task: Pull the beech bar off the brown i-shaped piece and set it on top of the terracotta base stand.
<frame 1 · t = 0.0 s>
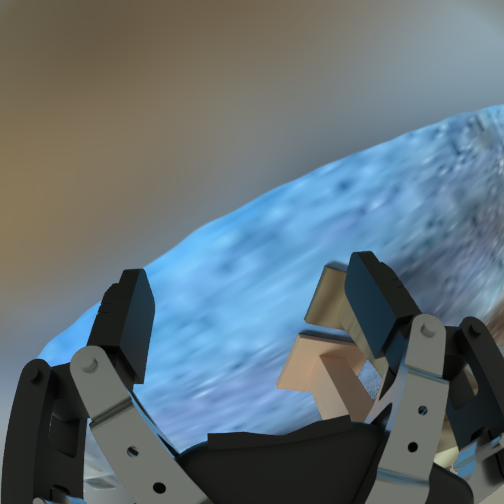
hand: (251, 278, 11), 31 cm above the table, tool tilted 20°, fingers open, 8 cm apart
terracotta base stand: (323, 365, 50), on the table
beech bar: (442, 433, 15), point 32 cm above the table, touching brown i-shaped piece
brown i-shaped piece: (353, 302, 47), on the table
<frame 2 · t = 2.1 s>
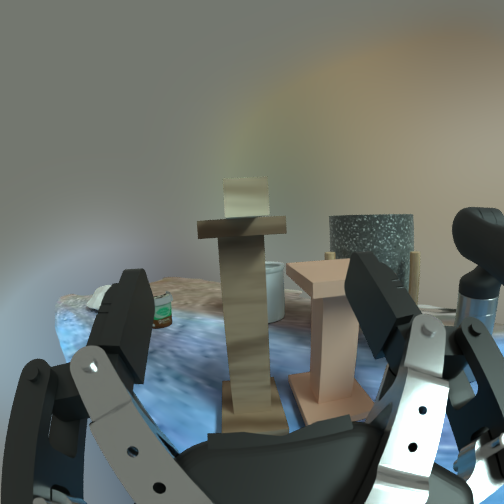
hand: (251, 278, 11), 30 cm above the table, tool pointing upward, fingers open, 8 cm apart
planter: (368, 334, 69), on the table
crumpled cloth: (116, 308, 105), on the table
terracotta base stand: (329, 397, 44), on the table
beech bar: (240, 218, 34), point 32 cm above the table, touching brown i-shaped piece
utensil holder: (263, 317, 91), on the table
food container: (164, 325, 86), on the table
brown i-shaped piece: (251, 409, 43), on the table
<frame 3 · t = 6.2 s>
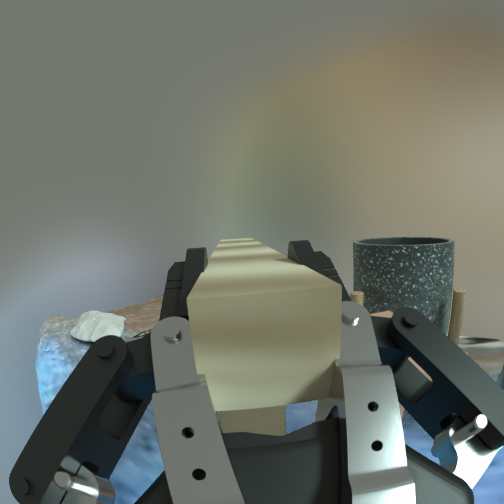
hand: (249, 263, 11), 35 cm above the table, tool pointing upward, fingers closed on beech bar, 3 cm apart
planter: (393, 378, 54), on the table
crumpled cloth: (103, 337, 89), on the table
beech bar: (243, 291, 19), point 32 cm above the table, touching gripper, brown i-shaped piece
food container: (154, 365, 70), on the table
brown i-shaped piece: (259, 495, 27), on the table
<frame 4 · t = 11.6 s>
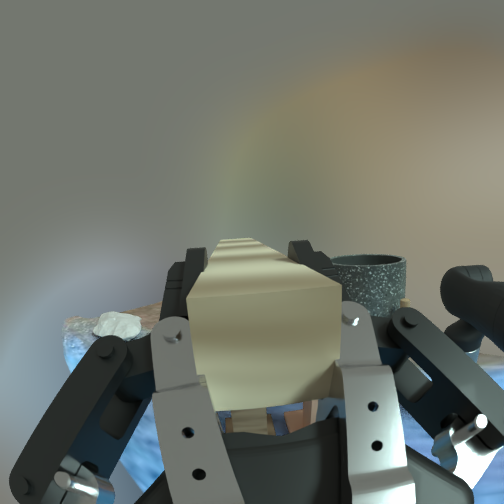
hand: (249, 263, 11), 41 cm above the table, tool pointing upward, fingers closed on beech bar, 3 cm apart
planter: (360, 367, 72), on the table
crumpled cloth: (122, 335, 108), on the table
terracotta base stand: (319, 433, 47), on the table
beech bar: (243, 290, 19), point 38 cm above the table, touching gripper
brown i-shaped piece: (251, 444, 45), on the table
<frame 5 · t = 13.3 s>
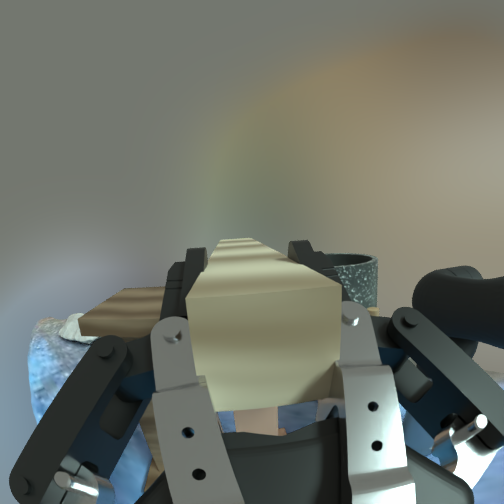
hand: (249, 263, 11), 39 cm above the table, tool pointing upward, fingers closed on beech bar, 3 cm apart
planter: (326, 383, 63), on the table
crumpled cloth: (87, 337, 98), on the table
terracotta base stand: (259, 464, 38), on the table
beech bar: (243, 291, 19), point 36 cm above the table, touching gripper
brown i-shaped piece: (180, 467, 36), on the table
when the fingers open (29 cm above the table, at t = 17.3 s): beech bar drops 2 cm, resting on terracotta base stand.
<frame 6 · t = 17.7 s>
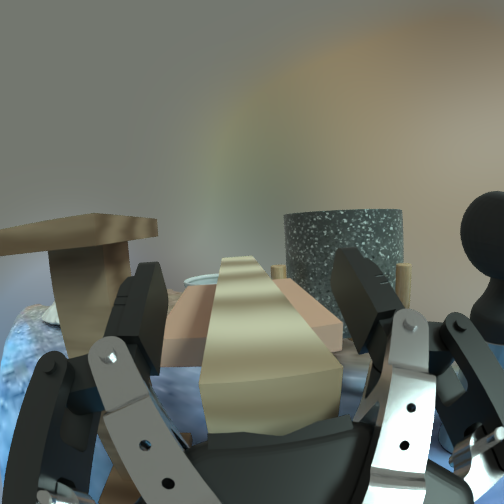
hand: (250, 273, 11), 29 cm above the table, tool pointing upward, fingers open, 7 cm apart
planter: (342, 370, 52), on the table
crumpled cloth: (71, 322, 87), on the table
terracotta base stand: (257, 474, 26), on the table
beech bar: (246, 319, 19), point 24 cm above the table, touching terracotta base stand
utensil holder: (218, 340, 74), on the table
brown i-shaped piece: (151, 473, 25), on the table
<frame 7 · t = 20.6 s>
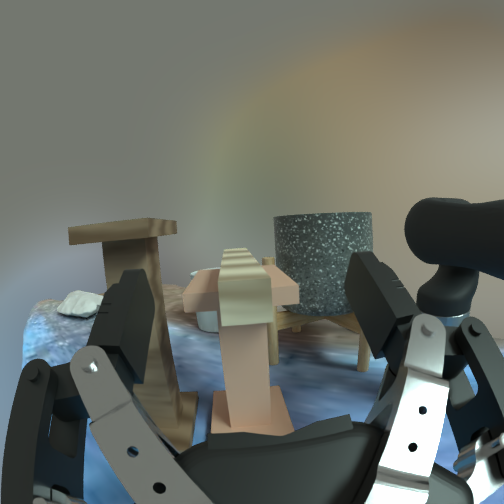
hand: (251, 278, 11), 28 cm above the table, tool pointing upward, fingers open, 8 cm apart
planter: (324, 348, 64), on the table
crumpled cloth: (85, 313, 99), on the table
terracotta base stand: (250, 421, 38), on the table
beech bar: (239, 284, 31), point 24 cm above the table, touching terracotta base stand
utensil holder: (219, 325, 86), on the table
brown i-shaped piece: (165, 423, 37), on the table
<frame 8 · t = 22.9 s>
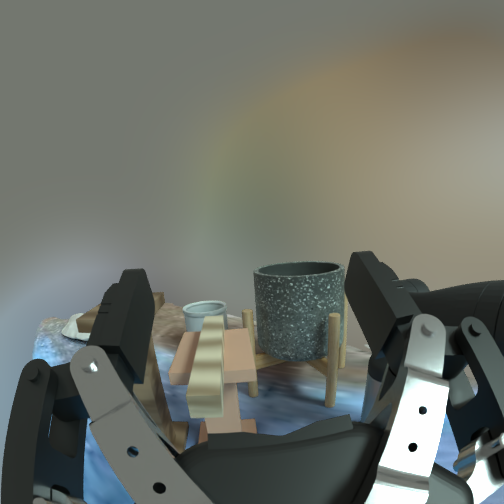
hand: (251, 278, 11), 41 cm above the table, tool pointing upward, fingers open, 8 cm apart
planter: (300, 381, 70), on the table
crumpled cloth: (87, 336, 106), on the table
terracotta base stand: (229, 448, 45), on the table
beech bar: (212, 362, 37), point 24 cm above the table, touching terracotta base stand
utensil holder: (210, 353, 93), on the table
brown i-shaped piece: (161, 448, 44), on the table
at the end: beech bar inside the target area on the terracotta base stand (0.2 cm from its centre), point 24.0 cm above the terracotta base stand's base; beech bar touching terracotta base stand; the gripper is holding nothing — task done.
